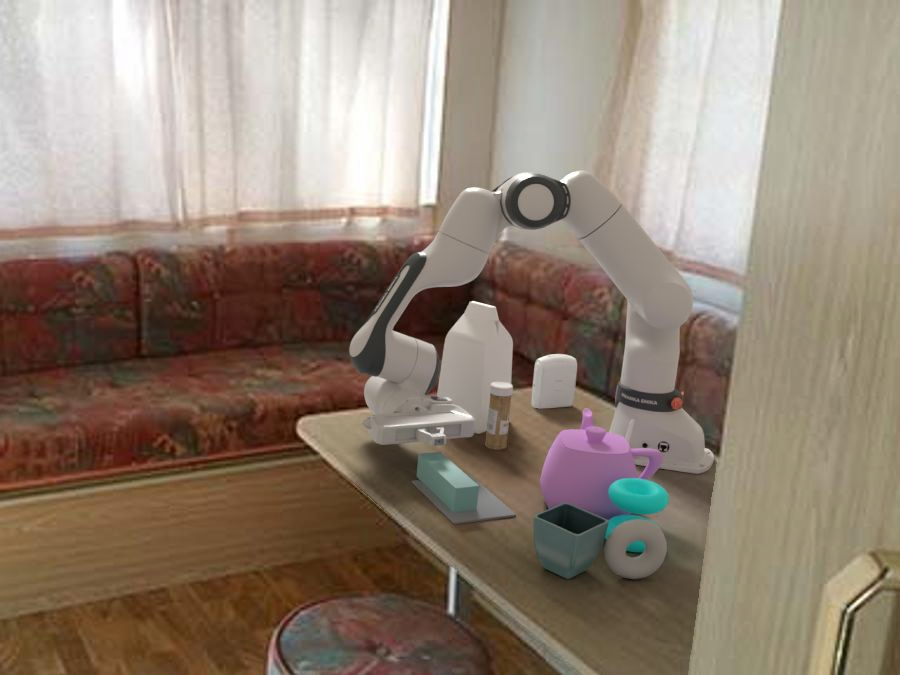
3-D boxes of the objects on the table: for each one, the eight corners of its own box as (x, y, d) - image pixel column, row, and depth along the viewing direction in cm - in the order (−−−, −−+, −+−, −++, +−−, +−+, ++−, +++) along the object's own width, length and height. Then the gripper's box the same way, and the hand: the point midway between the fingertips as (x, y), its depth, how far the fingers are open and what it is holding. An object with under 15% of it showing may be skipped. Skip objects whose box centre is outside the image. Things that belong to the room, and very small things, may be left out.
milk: (433, 418, 231) (443, 302, 224) (465, 407, 240) (475, 294, 233) (478, 433, 224) (490, 314, 217) (509, 421, 233) (521, 306, 226)
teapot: (661, 533, 184) (674, 452, 180) (540, 522, 184) (549, 441, 180) (643, 482, 206) (654, 408, 202) (534, 471, 206) (543, 398, 202)
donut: (603, 583, 165) (611, 524, 162) (597, 572, 168) (605, 514, 166) (665, 583, 167) (674, 525, 164) (658, 573, 170) (667, 515, 167)
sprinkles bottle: (508, 451, 216) (515, 388, 212) (486, 450, 215) (492, 387, 212) (504, 442, 220) (510, 380, 217) (482, 442, 219) (488, 380, 216)
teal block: (418, 454, 197) (455, 488, 183) (440, 451, 199) (479, 485, 185) (416, 476, 198) (453, 512, 184) (438, 474, 200) (476, 509, 186)
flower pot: (603, 571, 169) (610, 520, 166) (571, 589, 162) (578, 535, 160) (559, 551, 174) (565, 501, 172) (526, 568, 168) (532, 515, 165)
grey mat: (411, 482, 196) (412, 480, 196) (470, 476, 201) (470, 474, 201) (454, 524, 181) (454, 522, 181) (515, 516, 186) (516, 514, 186)
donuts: (655, 505, 171) (599, 487, 176) (647, 561, 174) (592, 542, 179) (679, 486, 179) (624, 470, 184) (670, 541, 182) (617, 523, 187)
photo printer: (536, 410, 242) (542, 358, 238) (527, 404, 245) (533, 352, 242) (575, 407, 246) (581, 356, 243) (566, 401, 250) (572, 351, 246)
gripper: (359, 404, 200) (387, 429, 189) (457, 397, 209) (489, 421, 197) (357, 435, 202) (385, 463, 190) (454, 427, 211) (486, 452, 199)
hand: (439, 441), depth 194 cm, fingers closed
